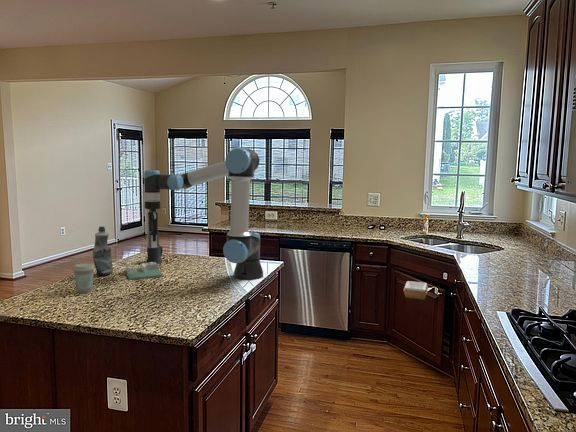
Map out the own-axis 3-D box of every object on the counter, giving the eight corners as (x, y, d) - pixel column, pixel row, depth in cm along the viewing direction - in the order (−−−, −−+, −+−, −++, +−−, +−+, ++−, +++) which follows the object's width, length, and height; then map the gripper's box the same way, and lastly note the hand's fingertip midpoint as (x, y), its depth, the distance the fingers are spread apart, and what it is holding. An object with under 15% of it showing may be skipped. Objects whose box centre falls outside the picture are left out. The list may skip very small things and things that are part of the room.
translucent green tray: (162, 276, 214) (162, 266, 213) (129, 280, 206) (129, 269, 206) (155, 268, 231) (155, 258, 231) (124, 271, 224) (124, 261, 223)
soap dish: (405, 290, 195) (405, 280, 195) (427, 293, 192) (428, 282, 191) (402, 298, 184) (403, 287, 183) (426, 301, 180) (427, 289, 180)
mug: (156, 264, 240) (156, 245, 238) (142, 263, 242) (142, 244, 241) (168, 260, 251) (167, 241, 250) (154, 259, 254) (154, 241, 252)
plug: (159, 247, 215) (158, 232, 214) (148, 248, 212) (148, 232, 211) (157, 246, 218) (157, 230, 217) (147, 247, 216) (147, 231, 215)
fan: (157, 268, 226) (157, 263, 225) (145, 269, 223) (145, 264, 223) (155, 266, 231) (155, 261, 231) (144, 267, 228) (143, 261, 228)
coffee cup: (72, 294, 181) (70, 267, 180) (76, 289, 189) (75, 263, 188) (93, 293, 183) (92, 266, 182) (97, 288, 192) (96, 262, 190)
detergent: (106, 271, 222) (105, 224, 220) (118, 272, 220) (117, 225, 218) (88, 277, 210) (87, 227, 207) (101, 278, 208) (99, 228, 205)
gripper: (163, 202, 207) (164, 249, 209) (156, 199, 222) (157, 243, 224) (147, 202, 203) (148, 250, 206) (141, 199, 218) (142, 244, 221)
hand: (153, 246), depth 215 cm, fingers closed on plug, 4 cm apart
